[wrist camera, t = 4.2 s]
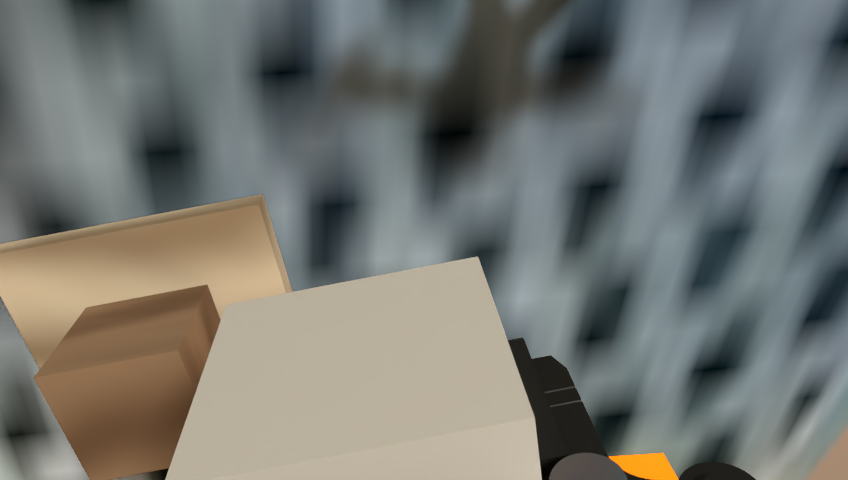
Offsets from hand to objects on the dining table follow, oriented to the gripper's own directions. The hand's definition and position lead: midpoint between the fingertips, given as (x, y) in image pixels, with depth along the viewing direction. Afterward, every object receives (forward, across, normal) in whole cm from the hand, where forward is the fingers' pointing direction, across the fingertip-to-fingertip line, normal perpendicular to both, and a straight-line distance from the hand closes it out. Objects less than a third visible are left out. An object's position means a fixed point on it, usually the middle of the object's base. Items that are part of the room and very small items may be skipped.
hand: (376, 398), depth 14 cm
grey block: (+1, 0, 0) cm, 1 cm away
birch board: (+15, +11, +6) cm, 20 cm away
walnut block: (+14, +11, +6) cm, 19 cm away
